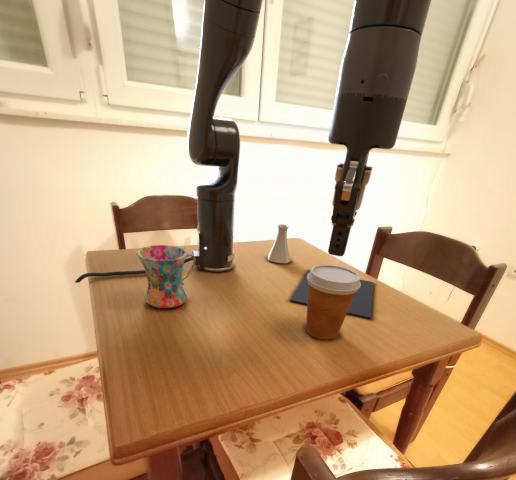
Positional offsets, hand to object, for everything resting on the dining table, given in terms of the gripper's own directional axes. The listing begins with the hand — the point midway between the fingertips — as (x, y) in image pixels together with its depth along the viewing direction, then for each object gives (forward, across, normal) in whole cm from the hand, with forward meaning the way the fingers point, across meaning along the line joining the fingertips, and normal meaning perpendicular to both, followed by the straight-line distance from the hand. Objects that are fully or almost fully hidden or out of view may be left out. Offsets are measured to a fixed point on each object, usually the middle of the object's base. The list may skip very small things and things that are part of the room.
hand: (336, 253), depth 43 cm
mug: (+18, -8, -32) cm, 38 cm away
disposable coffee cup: (+18, -10, 0) cm, 21 cm away
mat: (+18, -31, 0) cm, 36 cm away
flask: (+18, -47, -19) cm, 54 cm away
